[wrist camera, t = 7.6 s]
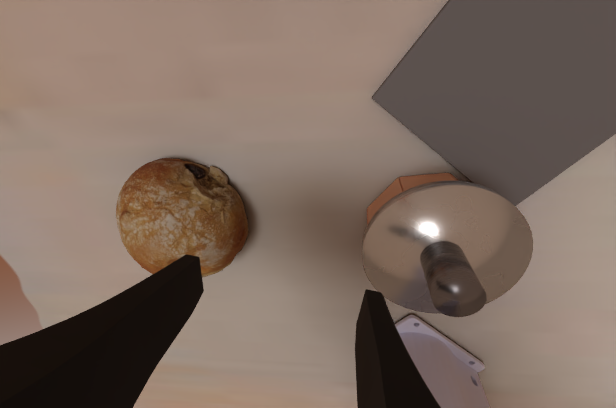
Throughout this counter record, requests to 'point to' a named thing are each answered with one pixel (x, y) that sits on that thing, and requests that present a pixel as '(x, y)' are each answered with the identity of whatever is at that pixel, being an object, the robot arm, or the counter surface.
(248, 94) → the counter surface
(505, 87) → the plate
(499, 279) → the lid
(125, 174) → the counter surface
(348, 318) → the counter surface
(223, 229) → the bread roll
